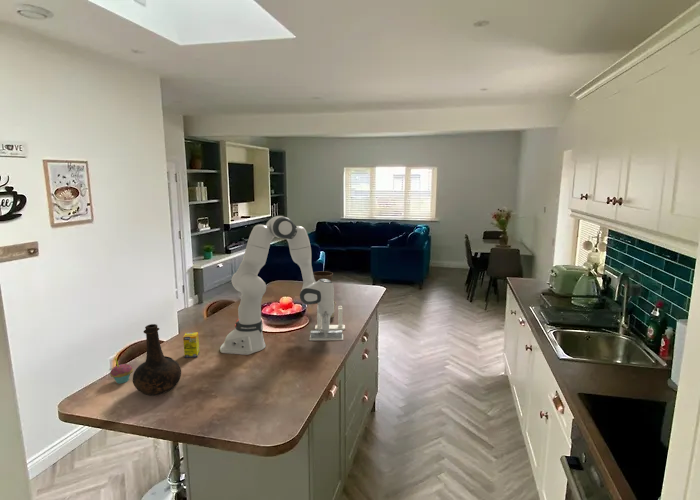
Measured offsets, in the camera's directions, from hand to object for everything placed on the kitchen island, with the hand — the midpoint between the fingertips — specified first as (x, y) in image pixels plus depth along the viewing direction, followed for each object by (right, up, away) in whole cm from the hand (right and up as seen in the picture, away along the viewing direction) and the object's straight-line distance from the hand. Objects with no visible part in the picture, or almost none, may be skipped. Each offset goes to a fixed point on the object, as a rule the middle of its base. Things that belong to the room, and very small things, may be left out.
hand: (326, 333), depth 225 cm
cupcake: (-85, -11, -46) cm, 98 cm away
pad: (0, -2, 0) cm, 2 cm away
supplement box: (-65, -7, -21) cm, 68 cm away
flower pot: (0, +4, +34) cm, 34 cm away
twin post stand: (+1, 0, +14) cm, 14 cm away
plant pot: (-7, +12, +81) cm, 82 cm away
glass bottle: (-66, -13, -54) cm, 86 cm away
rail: (0, -2, 0) cm, 2 cm away
